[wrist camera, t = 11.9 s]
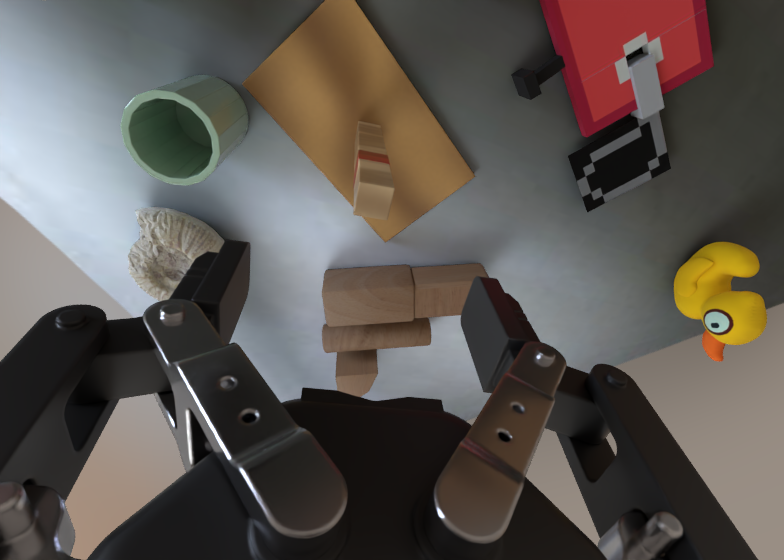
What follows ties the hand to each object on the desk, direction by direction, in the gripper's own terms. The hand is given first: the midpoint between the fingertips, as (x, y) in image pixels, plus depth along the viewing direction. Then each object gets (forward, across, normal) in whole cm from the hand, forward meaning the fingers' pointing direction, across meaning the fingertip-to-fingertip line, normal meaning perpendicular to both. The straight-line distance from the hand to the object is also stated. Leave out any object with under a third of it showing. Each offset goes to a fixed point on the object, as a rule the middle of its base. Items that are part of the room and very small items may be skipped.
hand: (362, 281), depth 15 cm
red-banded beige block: (+25, -1, +1) cm, 25 cm away
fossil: (+26, +15, +16) cm, 34 cm away
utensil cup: (+26, +12, +2) cm, 29 cm away
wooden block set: (+26, -9, +22) cm, 35 cm away
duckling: (+26, -40, +9) cm, 49 cm away
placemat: (+26, -1, +1) cm, 26 cm away
